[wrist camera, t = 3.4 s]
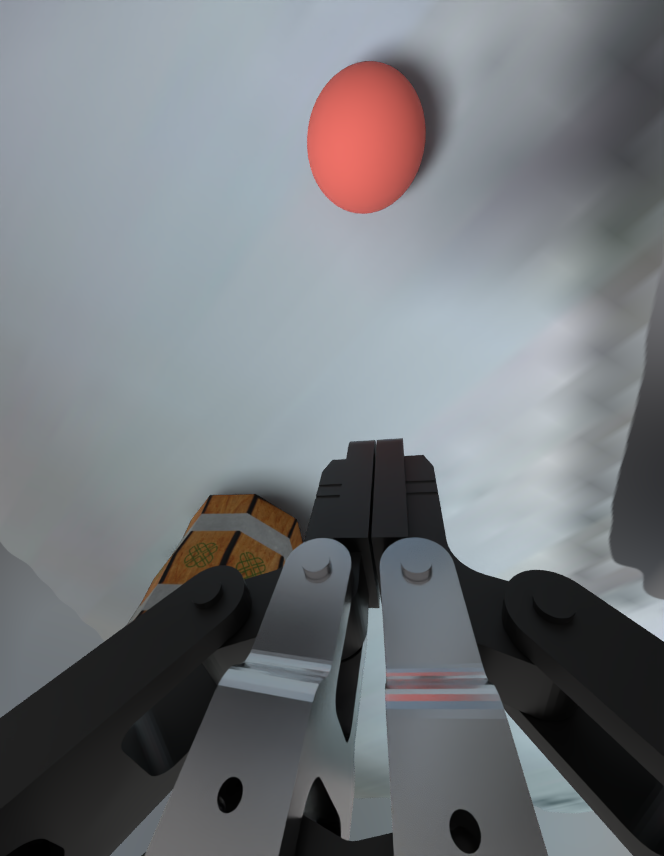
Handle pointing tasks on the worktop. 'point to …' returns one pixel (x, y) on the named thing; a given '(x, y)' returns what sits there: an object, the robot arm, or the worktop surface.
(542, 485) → the worktop surface
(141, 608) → the brown wooden cylinder
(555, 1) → the worktop surface
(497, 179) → the worktop surface
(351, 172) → the ball
